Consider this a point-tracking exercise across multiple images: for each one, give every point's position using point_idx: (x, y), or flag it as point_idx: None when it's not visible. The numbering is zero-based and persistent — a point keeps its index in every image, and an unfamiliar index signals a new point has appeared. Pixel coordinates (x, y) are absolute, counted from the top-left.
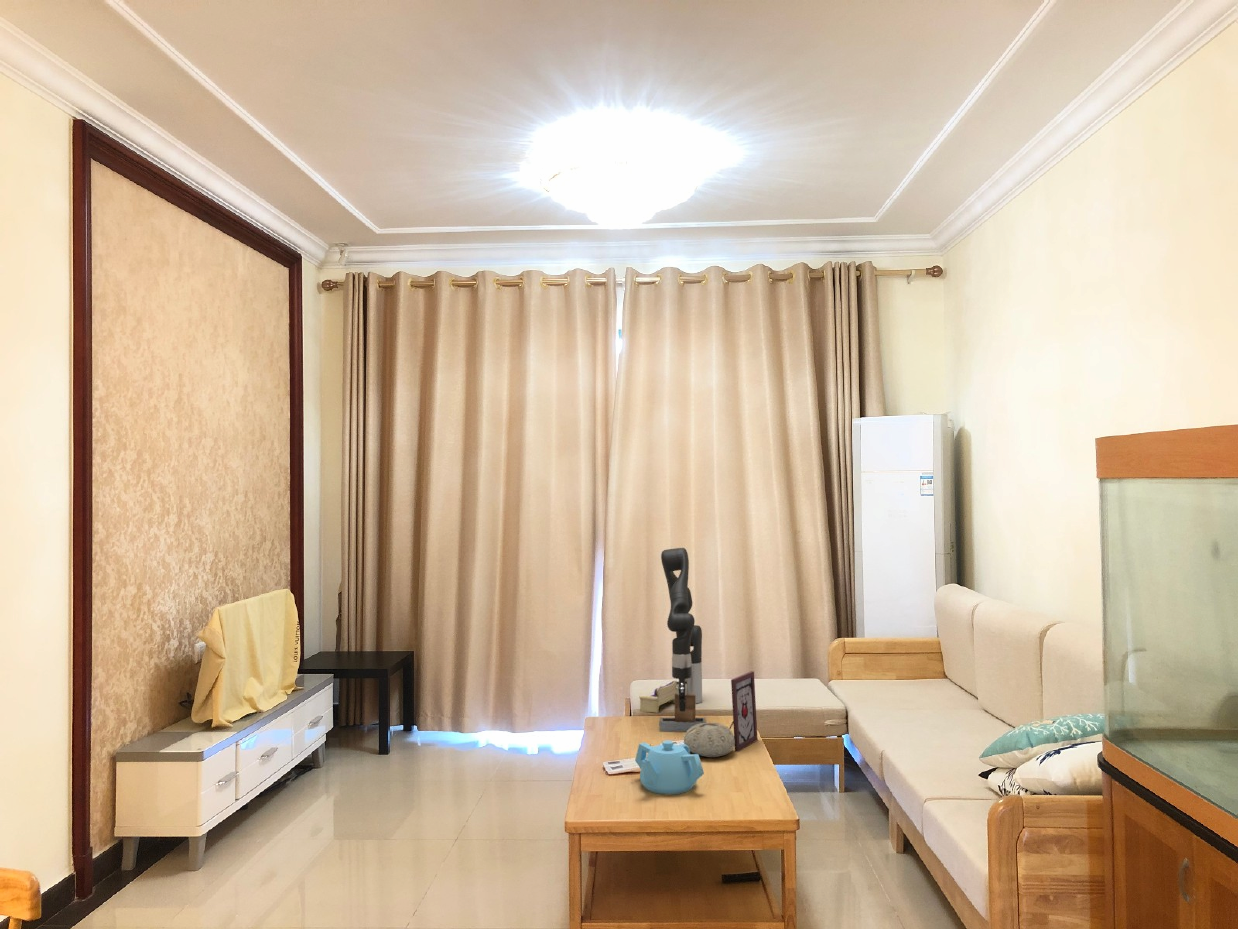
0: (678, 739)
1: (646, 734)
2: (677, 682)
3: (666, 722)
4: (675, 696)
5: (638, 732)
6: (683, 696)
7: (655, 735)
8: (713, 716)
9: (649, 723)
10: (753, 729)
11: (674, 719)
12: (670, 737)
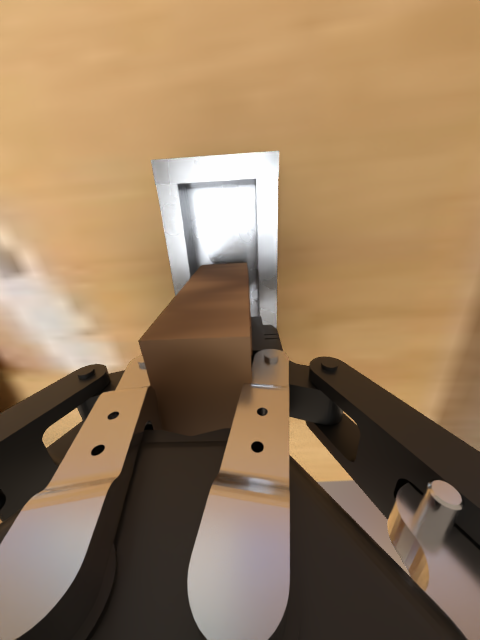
0: (63, 282)
1: (93, 83)
2: (195, 627)
3: (161, 214)
4: (146, 344)
5: (122, 3)
6: (166, 423)
7: (90, 152)
8: (427, 403)
9: (351, 73)
10: None
11: (258, 259)
12: (81, 243)
